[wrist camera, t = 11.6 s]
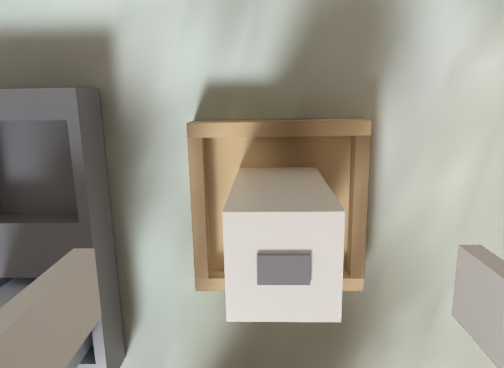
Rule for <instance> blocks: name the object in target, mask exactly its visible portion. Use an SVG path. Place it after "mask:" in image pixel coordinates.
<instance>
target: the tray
mask: <svg viewBox="0 0 504 368" xmlns="http://www.w3.org/2000/svg"><path fill="white" fill-rule="evenodd" d="M371 122H372V120H368V119H364V118H344V119H281V120H218V121H192V122H189V123H187V138H188V157H189V176H190V194H191V213H192V232H193V250H194V269H195V288H196V291H225V273H224V245H223V216H222V212H223V209H224V207H225V204H226V201H227V199H228V196H229V193H230V191H231V188H232V185H233V183H234V180H235V177H236V175H237V172H238V170H239V168H277V167H316V168H317V169H318V171H319V172H320V174H321V175H322V177H323V178H324V180H325V181H326V183H327V185H328V186H329V188H330V189H331V191H332V192H333V194H334V195H335V197H336V198H337V200H338V201H339V203H340V204H341V206H342V207H343V209H344V210H345V232H344V260H343V288H342V291H364V270H365V249H366V228H367V207H368V185H369V164H370V143H371Z"/></svg>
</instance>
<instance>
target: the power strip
mask: <svg viewBox="0 0 504 368" xmlns="http://www.w3.org/2000/svg"><path fill="white" fill-rule="evenodd" d="M73 248H94V251H95V260H96V269H97V278H98V287H99V297H100V306H101V315H102V317H101V318H100V320H99V321H98V323H97V324H96V325H95V327H94V328H93V330H92V336H93V345H92V346H91V348H90V349H89V350H88V352H87V353H86V355H85V356H84V358H83V359H82V361H81V362H80V363H79V365H78V366H77V368H120V366H121V364H122V363H123V361H124V359H125V357H126V354H125V344H124V334H123V324H122V314H121V304H120V294H119V284H118V274H117V264H116V254H115V244H114V233H113V223H112V213H111V203H110V193H109V183H108V173H107V163H106V153H105V143H104V133H103V123H102V113H101V103H100V93H99V88H78V87H71V88H19V89H0V287H2V286H3V285H5V284H6V283H7V282H9V281H10V280H11V279H13V278H38V277H39V276H40V275H42V274H43V273H44V272H45V271H47V270H48V269H49V268H50V267H51V266H53V265H54V264H55V263H56V262H58V261H59V260H60V259H61V258H62V257H64V256H65V255H66V254H67V253H69V252H70V251H71V250H72V249H73Z"/></svg>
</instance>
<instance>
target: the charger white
mask: <svg viewBox="0 0 504 368" xmlns="http://www.w3.org/2000/svg"><path fill="white" fill-rule="evenodd" d="M222 216H223V245H224V273H225V302H226V322H341V316H342V288H343V260H344V232H345V210H344V209H343V207H342V206H341V204H340V203H339V201H338V200H337V198H336V197H335V195H334V194H333V192H332V191H331V189H330V188H329V186H328V185H327V183H326V181H325V180H324V178H323V177H322V175H321V174H320V172H319V171H318V169H317V168H316V167H277V168H239V170H238V172H237V175H236V177H235V180H234V183H233V185H232V188H231V191H230V193H229V196H228V199H227V201H226V204H225V207H224V209H223V212H222Z"/></svg>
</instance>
